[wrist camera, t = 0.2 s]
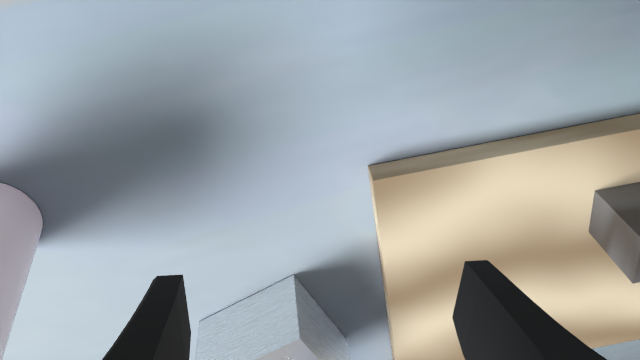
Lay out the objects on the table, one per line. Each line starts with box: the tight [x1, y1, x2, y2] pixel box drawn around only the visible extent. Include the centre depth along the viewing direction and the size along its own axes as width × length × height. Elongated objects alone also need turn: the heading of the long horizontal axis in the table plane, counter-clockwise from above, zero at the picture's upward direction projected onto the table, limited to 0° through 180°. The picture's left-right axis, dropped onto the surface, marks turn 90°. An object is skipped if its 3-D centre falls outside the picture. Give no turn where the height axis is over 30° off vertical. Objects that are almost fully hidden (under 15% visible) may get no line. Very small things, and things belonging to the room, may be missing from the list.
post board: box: [368, 113, 640, 360], centre depth 25 cm, size 14×18×5 cm
